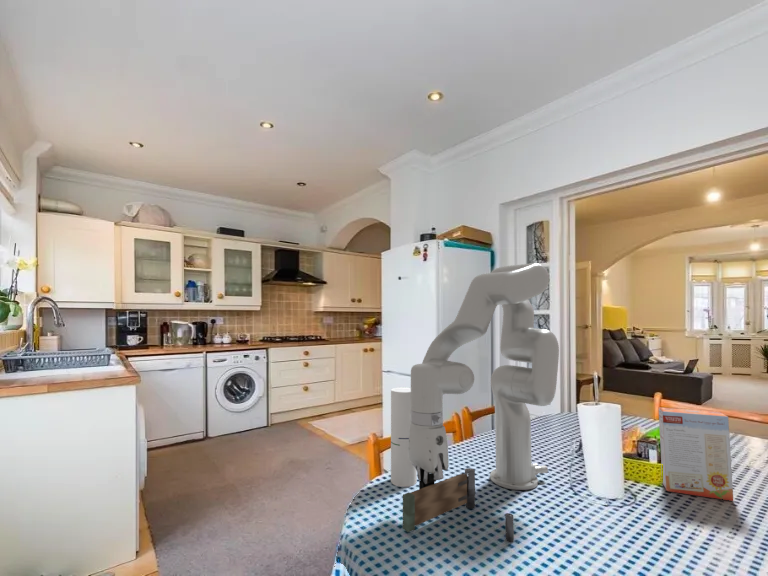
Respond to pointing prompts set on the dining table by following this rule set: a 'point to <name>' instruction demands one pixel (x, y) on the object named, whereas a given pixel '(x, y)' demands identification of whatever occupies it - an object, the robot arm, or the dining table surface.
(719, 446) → the cracker box
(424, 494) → the wooden plank on edge
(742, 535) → the dining table surface
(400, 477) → the cylindrical container
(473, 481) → the hinge post
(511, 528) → the post
